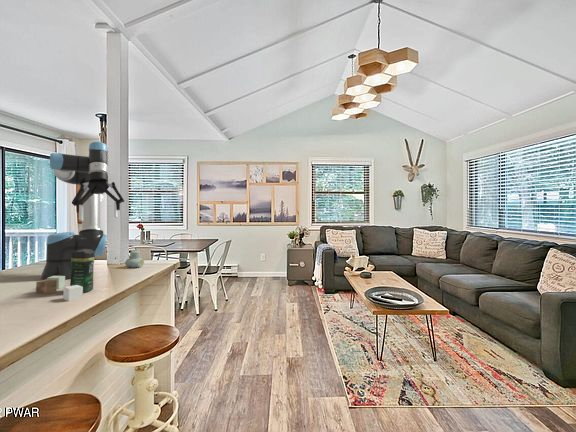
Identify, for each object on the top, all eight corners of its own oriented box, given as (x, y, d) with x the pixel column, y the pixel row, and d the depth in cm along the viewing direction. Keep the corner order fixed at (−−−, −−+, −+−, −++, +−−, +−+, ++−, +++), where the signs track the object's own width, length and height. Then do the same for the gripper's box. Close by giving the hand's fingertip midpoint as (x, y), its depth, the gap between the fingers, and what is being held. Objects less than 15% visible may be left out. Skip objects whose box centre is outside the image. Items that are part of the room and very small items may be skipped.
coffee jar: (86, 293, 143) (88, 250, 143) (66, 293, 142) (68, 250, 141) (96, 288, 152) (97, 248, 152) (77, 288, 151) (79, 247, 151)
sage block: (46, 289, 148) (47, 277, 148) (53, 286, 153) (53, 275, 153) (58, 289, 149) (58, 278, 149) (64, 286, 154) (65, 275, 154)
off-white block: (63, 299, 134) (63, 286, 133) (76, 296, 138) (77, 284, 138) (68, 301, 131) (69, 288, 131) (82, 299, 135) (82, 286, 135)
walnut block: (36, 293, 141) (36, 281, 141) (46, 290, 146) (46, 279, 146) (46, 294, 140) (46, 282, 140) (56, 291, 145) (56, 280, 145)
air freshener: (133, 265, 215) (133, 250, 215) (145, 266, 214) (146, 250, 214) (123, 268, 204) (123, 252, 204) (136, 269, 204) (136, 252, 203)
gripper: (63, 172, 143) (62, 218, 137) (126, 169, 150) (128, 213, 143) (70, 179, 150) (69, 224, 144) (130, 176, 157) (131, 218, 150)
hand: (98, 218), depth 143 cm, fingers open, 13 cm apart
